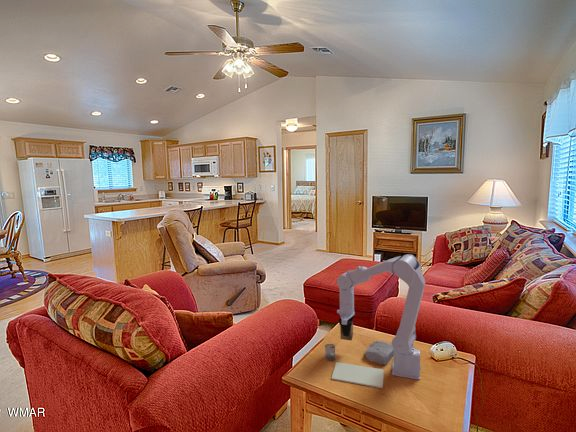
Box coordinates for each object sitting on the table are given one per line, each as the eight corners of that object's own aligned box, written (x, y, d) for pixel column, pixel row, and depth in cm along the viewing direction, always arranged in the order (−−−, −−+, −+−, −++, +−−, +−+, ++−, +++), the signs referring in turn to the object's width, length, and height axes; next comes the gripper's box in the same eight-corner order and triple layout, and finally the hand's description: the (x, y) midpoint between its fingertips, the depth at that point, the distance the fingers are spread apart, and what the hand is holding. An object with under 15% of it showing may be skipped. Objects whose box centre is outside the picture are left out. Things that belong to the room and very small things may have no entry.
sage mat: (383, 370, 120) (383, 369, 120) (382, 388, 111) (382, 387, 111) (336, 363, 126) (336, 361, 126) (331, 379, 117) (331, 378, 117)
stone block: (364, 363, 129) (388, 366, 123) (361, 351, 129) (385, 354, 123) (375, 350, 138) (398, 352, 132) (373, 339, 138) (396, 341, 132)
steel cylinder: (336, 355, 131) (335, 344, 130) (334, 361, 127) (334, 349, 127) (326, 354, 132) (326, 342, 132) (324, 359, 129) (324, 348, 128)
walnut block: (353, 334, 134) (352, 321, 133) (351, 340, 130) (351, 326, 129) (342, 333, 135) (342, 320, 135) (340, 339, 131) (340, 325, 130)
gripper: (340, 293, 138) (340, 323, 140) (333, 308, 125) (334, 340, 127) (356, 295, 136) (356, 325, 138) (351, 310, 122) (352, 343, 125)
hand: (347, 332), depth 132 cm, fingers closed on walnut block, 4 cm apart
